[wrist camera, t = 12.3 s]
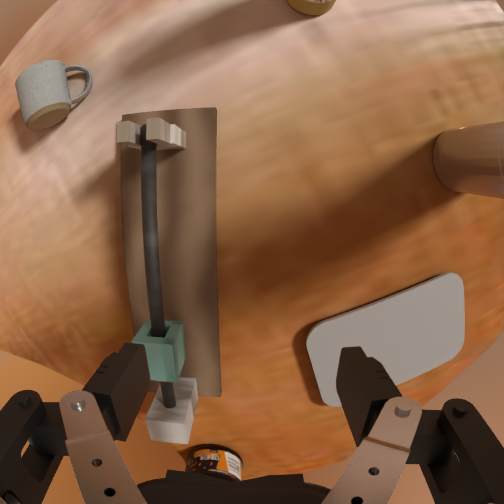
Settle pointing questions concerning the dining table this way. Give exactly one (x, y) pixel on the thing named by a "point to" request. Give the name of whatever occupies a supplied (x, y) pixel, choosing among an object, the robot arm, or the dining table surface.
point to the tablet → (393, 333)
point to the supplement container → (215, 462)
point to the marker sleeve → (163, 350)
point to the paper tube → (312, 6)
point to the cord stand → (173, 251)
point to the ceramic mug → (47, 93)
